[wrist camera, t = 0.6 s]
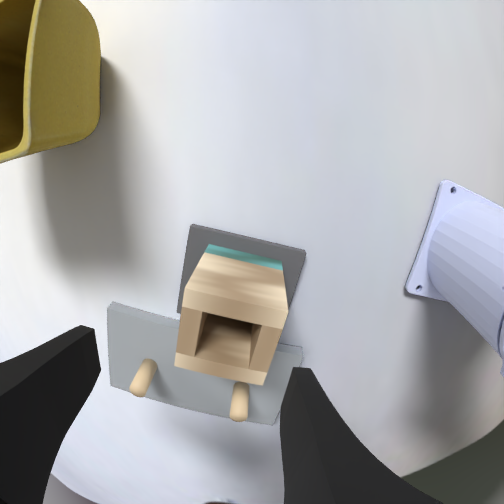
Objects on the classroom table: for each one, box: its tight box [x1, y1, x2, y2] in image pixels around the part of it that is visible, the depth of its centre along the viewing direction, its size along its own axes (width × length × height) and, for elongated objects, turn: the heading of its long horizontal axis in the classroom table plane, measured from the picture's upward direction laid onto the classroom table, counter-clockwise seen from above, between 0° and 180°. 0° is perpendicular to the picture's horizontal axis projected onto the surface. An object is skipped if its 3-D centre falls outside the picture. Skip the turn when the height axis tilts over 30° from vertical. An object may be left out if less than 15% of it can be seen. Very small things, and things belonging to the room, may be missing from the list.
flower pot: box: [0, 0, 101, 163], centre depth 12 cm, size 9×9×9 cm
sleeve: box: [174, 244, 288, 386], centre depth 16 cm, size 4×4×6 cm
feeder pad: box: [177, 224, 306, 314], centre depth 19 cm, size 7×6×1 cm
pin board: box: [107, 302, 304, 425], centre depth 20 cm, size 14×8×4 cm, turn 77°
